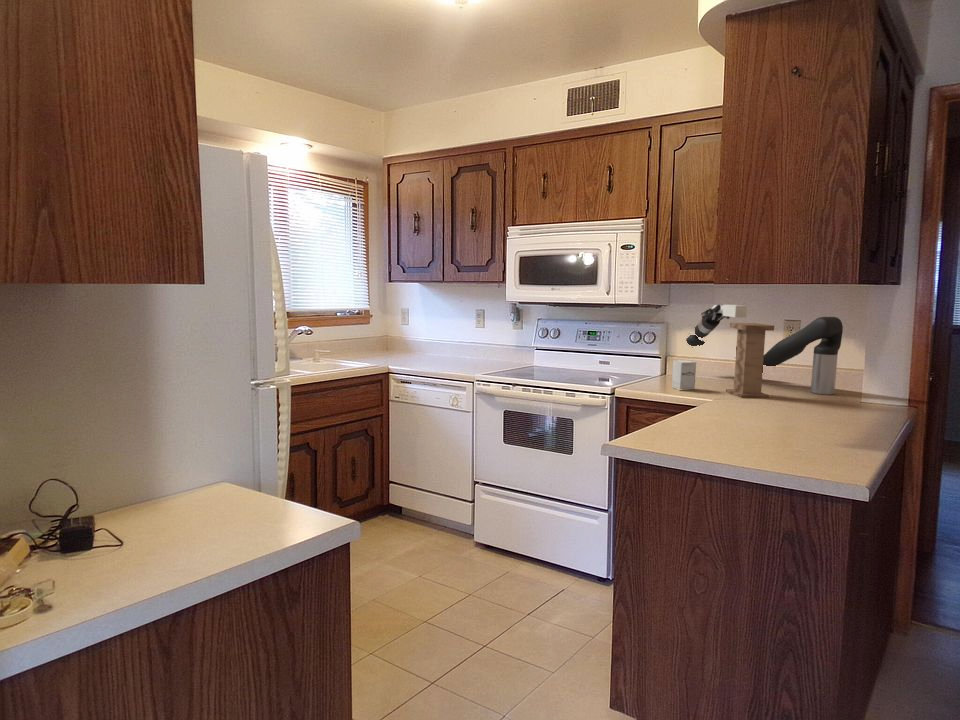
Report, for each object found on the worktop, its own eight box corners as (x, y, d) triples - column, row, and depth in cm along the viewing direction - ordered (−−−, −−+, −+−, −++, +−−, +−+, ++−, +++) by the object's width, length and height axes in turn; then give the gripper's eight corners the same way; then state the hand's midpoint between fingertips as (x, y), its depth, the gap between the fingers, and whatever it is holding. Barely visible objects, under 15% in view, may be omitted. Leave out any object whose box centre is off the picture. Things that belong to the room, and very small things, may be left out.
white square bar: (710, 314, 305) (710, 303, 305) (720, 314, 306) (721, 303, 305) (735, 317, 280) (735, 305, 280) (746, 317, 281) (747, 305, 280)
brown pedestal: (725, 392, 282) (730, 322, 278) (752, 392, 283) (757, 323, 279) (741, 398, 268) (746, 325, 264) (769, 398, 269) (774, 325, 265)
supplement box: (679, 390, 283) (681, 362, 282) (671, 388, 290) (672, 360, 289) (695, 390, 285) (696, 362, 283) (686, 387, 292) (688, 359, 290)
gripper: (724, 330, 311) (740, 314, 296) (695, 330, 310) (710, 313, 294) (721, 316, 314) (737, 299, 299) (693, 315, 313) (707, 299, 297)
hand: (723, 306), depth 297 cm, fingers closed on white square bar, 3 cm apart
